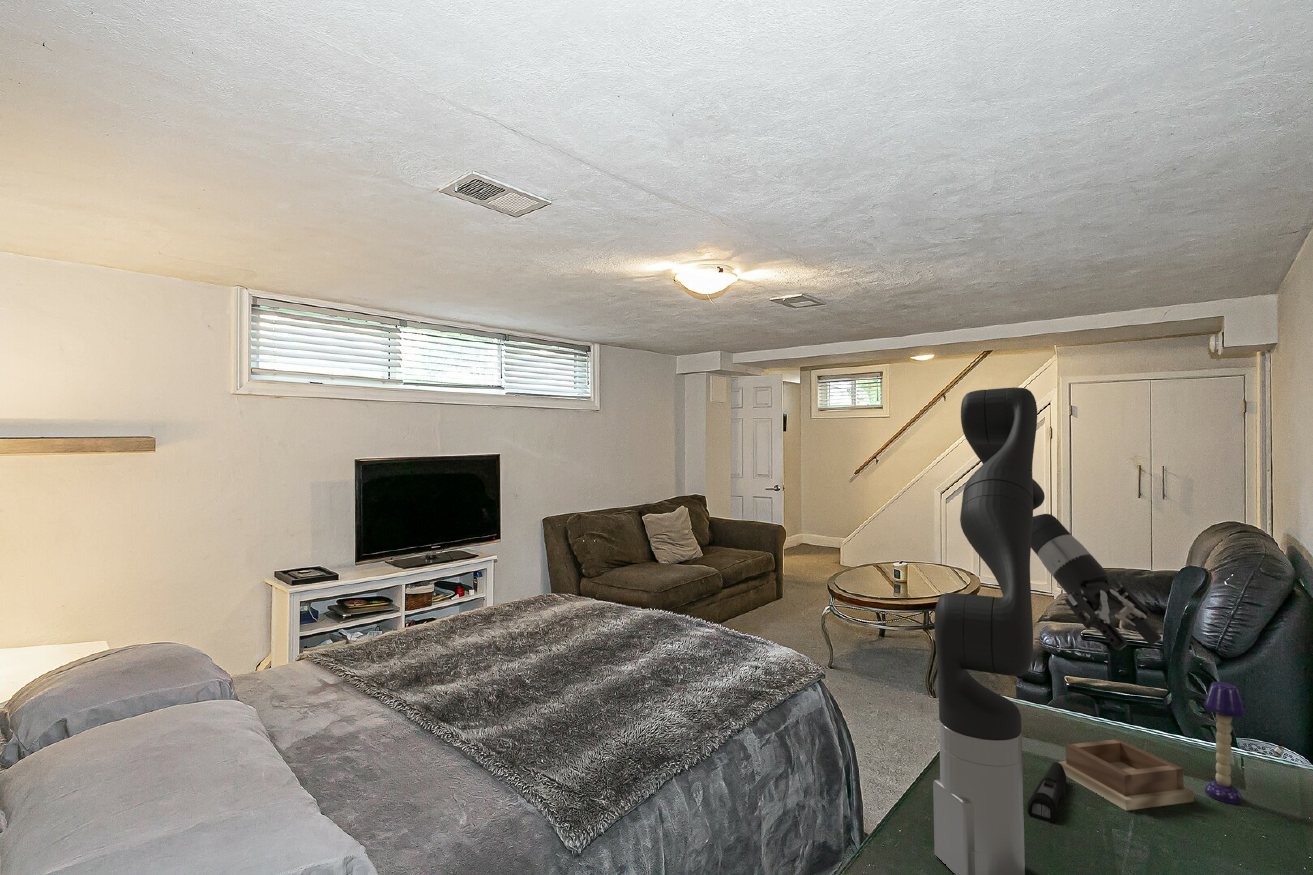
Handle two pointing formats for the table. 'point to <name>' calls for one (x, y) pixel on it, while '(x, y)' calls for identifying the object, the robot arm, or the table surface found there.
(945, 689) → the robot arm
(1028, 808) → the electric trimmer
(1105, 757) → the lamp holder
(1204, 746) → the table surface
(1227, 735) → the toy lamp
